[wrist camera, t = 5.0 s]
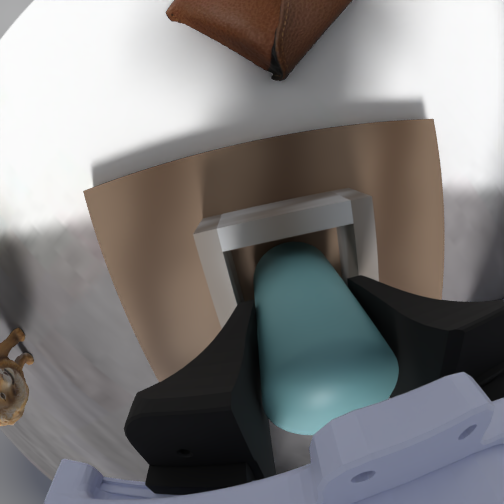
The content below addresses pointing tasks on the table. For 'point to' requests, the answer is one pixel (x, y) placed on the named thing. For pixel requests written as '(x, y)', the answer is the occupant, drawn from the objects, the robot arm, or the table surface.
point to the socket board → (268, 225)
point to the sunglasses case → (261, 27)
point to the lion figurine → (12, 380)
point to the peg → (315, 342)
